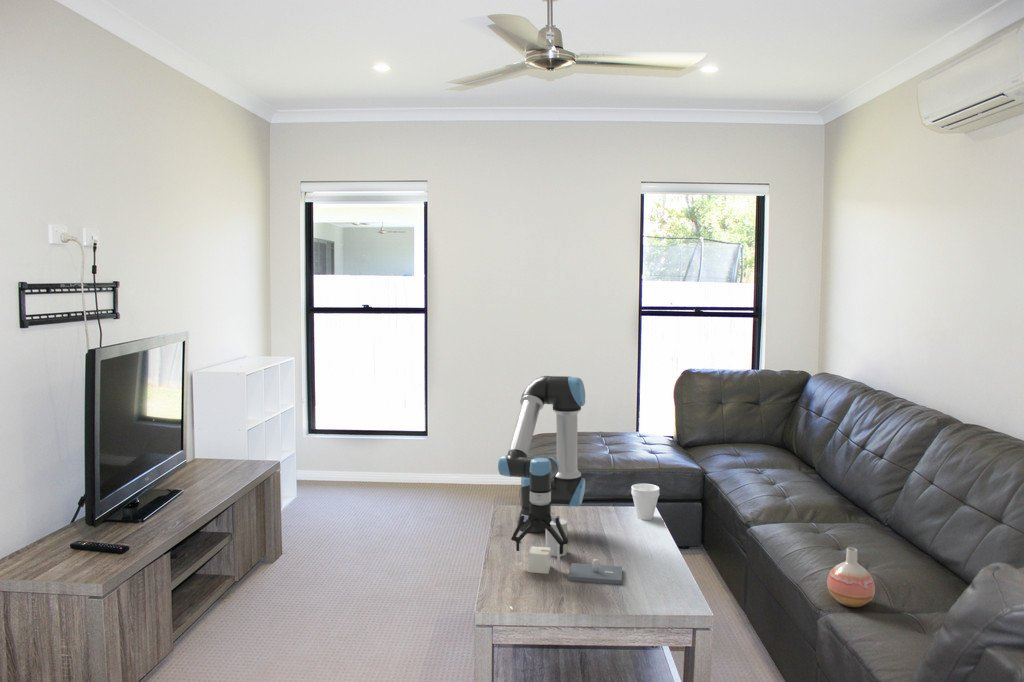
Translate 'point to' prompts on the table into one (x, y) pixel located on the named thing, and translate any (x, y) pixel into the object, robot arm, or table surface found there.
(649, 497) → the cup
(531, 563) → the cream cube
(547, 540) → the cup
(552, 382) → the robot arm
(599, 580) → the shaft plate
